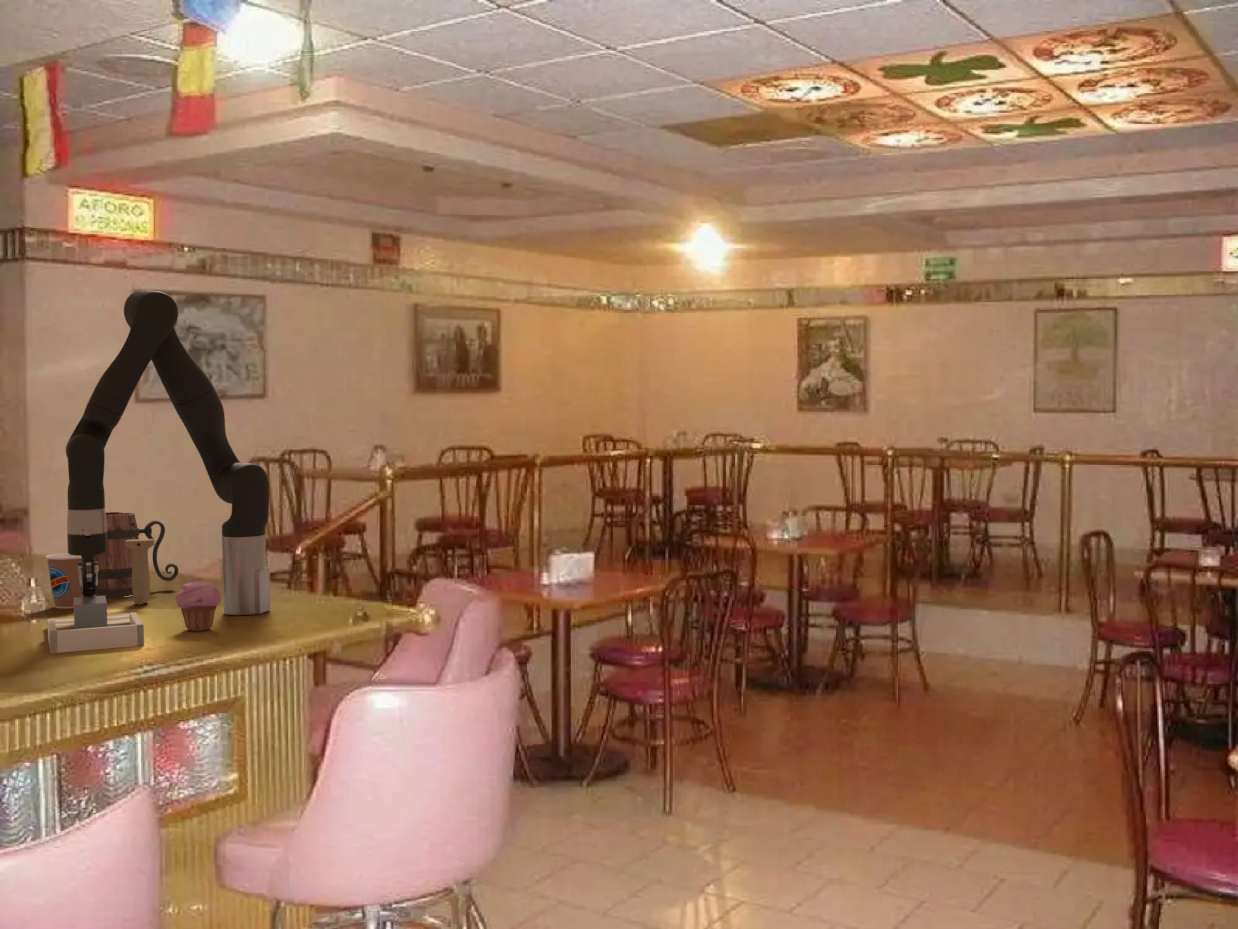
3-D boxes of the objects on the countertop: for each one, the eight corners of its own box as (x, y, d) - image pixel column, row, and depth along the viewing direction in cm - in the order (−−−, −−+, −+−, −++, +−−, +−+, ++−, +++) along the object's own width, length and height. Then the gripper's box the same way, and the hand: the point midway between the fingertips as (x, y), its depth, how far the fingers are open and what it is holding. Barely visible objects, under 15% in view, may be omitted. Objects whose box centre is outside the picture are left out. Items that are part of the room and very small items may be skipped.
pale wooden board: (47, 628, 265) (47, 618, 265) (129, 622, 272) (129, 612, 272) (49, 638, 252) (48, 628, 252) (135, 632, 259) (134, 622, 259)
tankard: (81, 601, 304) (78, 517, 303) (75, 592, 319) (72, 512, 318) (183, 593, 315) (181, 512, 314) (173, 585, 330) (171, 508, 329)
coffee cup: (37, 607, 294) (36, 556, 293) (77, 602, 302) (75, 551, 302) (65, 611, 288) (63, 558, 288) (105, 605, 297) (103, 553, 296)
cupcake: (173, 628, 263) (172, 580, 262) (216, 624, 267) (215, 577, 267) (181, 635, 255) (180, 585, 255) (225, 631, 259) (224, 582, 259)
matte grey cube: (74, 621, 258) (73, 597, 258) (105, 619, 261) (105, 595, 260) (74, 630, 252) (74, 605, 252) (107, 627, 255) (106, 603, 254)
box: (48, 639, 252) (47, 618, 252) (136, 631, 259) (135, 612, 259) (50, 653, 237) (49, 632, 237) (144, 645, 244) (143, 624, 244)
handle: (155, 604, 296) (153, 540, 296) (125, 606, 295) (123, 541, 294) (157, 601, 301) (155, 538, 300) (128, 603, 299) (126, 539, 299)
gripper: (66, 528, 265) (68, 611, 266) (67, 535, 253) (70, 621, 254) (105, 527, 268) (107, 608, 269) (108, 533, 256) (110, 618, 257)
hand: (89, 614), depth 262 cm, fingers closed
